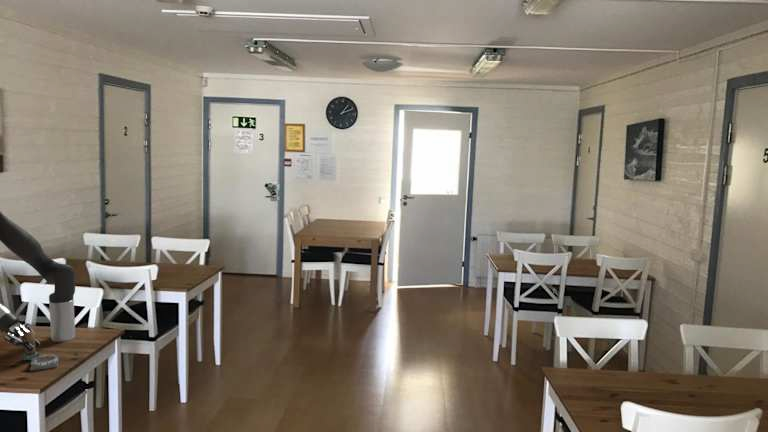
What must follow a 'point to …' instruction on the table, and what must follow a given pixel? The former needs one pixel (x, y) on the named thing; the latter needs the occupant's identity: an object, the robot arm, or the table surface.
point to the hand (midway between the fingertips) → (35, 347)
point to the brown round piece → (31, 339)
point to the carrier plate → (44, 362)
